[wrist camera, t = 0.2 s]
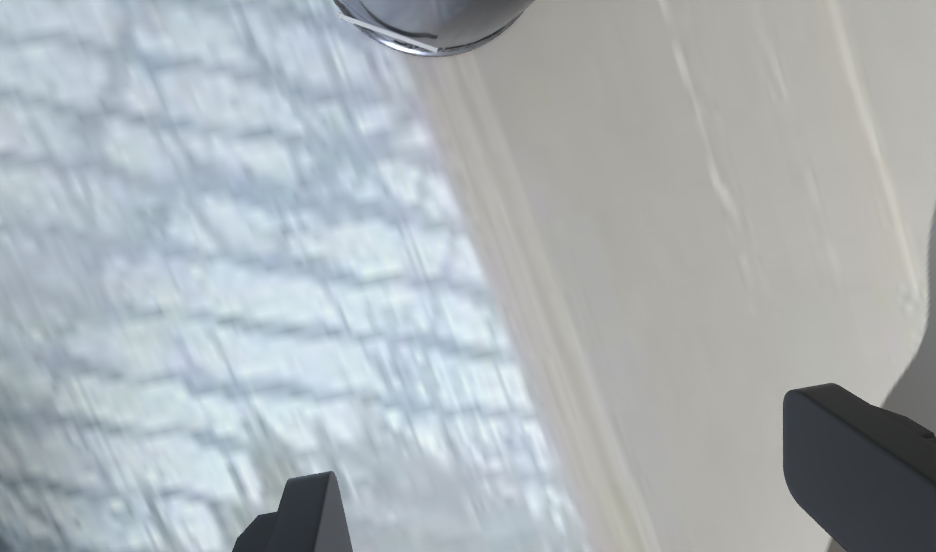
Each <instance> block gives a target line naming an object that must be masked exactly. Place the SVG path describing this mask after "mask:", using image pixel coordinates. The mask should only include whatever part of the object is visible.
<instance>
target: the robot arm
mask: <svg viewBox="0 0 936 552" xmlns="http://www.w3.org/2000/svg"><path fill="white" fill-rule="evenodd" d="M333 1H334V2H335V4H336V5H337V6H338V8H339V9H340V10H341V11H342V13H343V14H344V15H342V14H339V13H338V15H339V17H340V18H341V19H343V20H346V21H348V22H351V23H353V24H354V25H355V26H356V27H357V28H358V29H360V30H361V31H362V32H363V33H365V34H366V35H368V36H369V37H370V38H372V39H374V40H375V41H377V42H379V43H380V44H382V45H385V46H387V47H389V48H391V49H394V50H397V51H399V52H402V53H406V54H411V55H415V56H423V57H444V56H452V55H457V54H461V53H465V52H468V51H471V50H473V49H476V48H478V47H480V46H482V45H484V44H486V43H488V42H490V41H491V40H493V39H494V38H496V37H497V36H499V35H500V34H501V33H502V32H503V31H505V30H506V29H507V28H508V27H509V26H510V25H512V24H513V23H514V21H515V20H516V19H517V18H518V17H519V16H520V15H521V14H522V13H523V11H524V10H525V9H526V8H527V7H528V6H529V5H530V4H532V3H533V2H534V1H535V0H333ZM783 471H784V476H785V480H786V483H787V486H788V488H789V491H790V493H791V494H792V496H793V498H794V499H795V501H796V502H797V503H798V504H799V505H800V507H801V508H803V509H804V510H805V511H806V512H807V513H808V514H809V515H810V516H811V517H812V518H813V519H814V520H815V521H816V522H817V523H818V524H819V525H820V526H821V527H822V528H823V529H824V530H825V531H826V532H827V533H828V534H829V535H830V536H831V537H832V538H833V539H834V540H835V541H836V542H838V543H839V544H840V545H841V546H842V547H843V548H844V549H845V550H846V551H847V552H936V437H935V436H934V433H933V432H931V431H929V430H927V429H926V428H924V427H922V426H921V425H919V424H917V423H916V422H914V421H912V420H911V419H909V418H907V417H905V416H902V415H899V414H896V413H893V412H891V411H888V410H885V409H882V408H879V407H876V406H873V405H870V404H869V403H867V402H865V401H864V400H862V399H860V398H859V397H857V396H855V395H854V394H852V393H851V392H849V391H847V390H846V389H844V388H842V387H841V386H839V385H837V384H834V383H828V384H822V385H817V386H811V387H806V388H800V389H794V390H790V391H788V392H787V393H786V395H785V397H784V401H783ZM232 552H353V550H352V545H351V541H350V536H349V532H348V527H347V522H346V518H345V513H344V509H343V504H342V500H341V495H340V491H339V486H338V482H337V478H336V476H335V474H334V472H333V471H329V472H324V473H318V474H312V475H307V476H301V477H296V478H290V479H288V481H287V483H286V486H285V489H284V492H283V495H282V498H281V501H280V504H279V508H278V511H277V512H274V513H268V514H263V515H258V516H257V517H256V518H255V520H254V521H253V522H252V523H251V524H250V525H249V526H248V527H247V528H246V529H245V531H244V532H243V533H242V534H241V535H240V536H239V537H238V538H237V541H236V543H235V546H234V548H233V551H232Z"/></svg>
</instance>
